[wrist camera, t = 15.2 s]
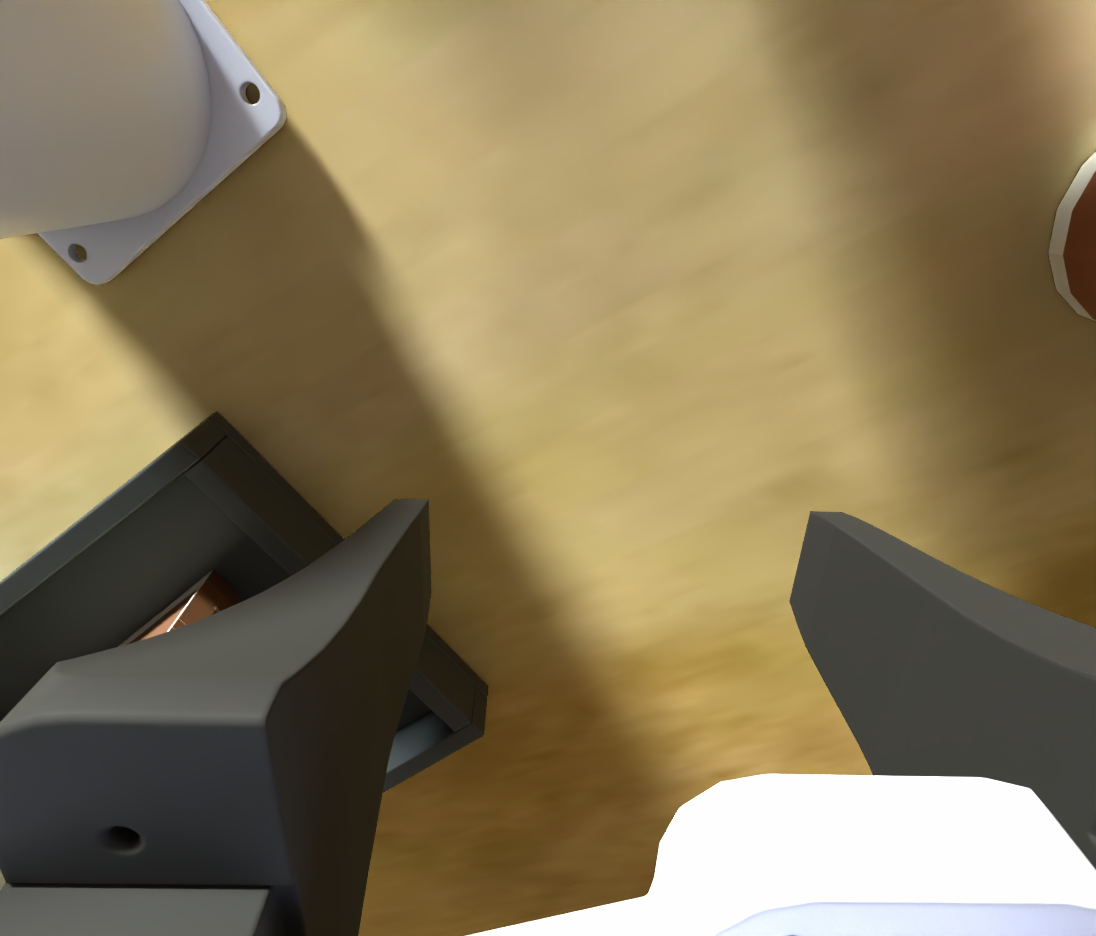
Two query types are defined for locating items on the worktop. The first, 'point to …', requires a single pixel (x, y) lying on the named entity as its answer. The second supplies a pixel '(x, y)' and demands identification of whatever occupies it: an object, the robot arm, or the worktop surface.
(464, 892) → the worktop surface
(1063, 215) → the coffee cup
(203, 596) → the food container
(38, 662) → the tray
